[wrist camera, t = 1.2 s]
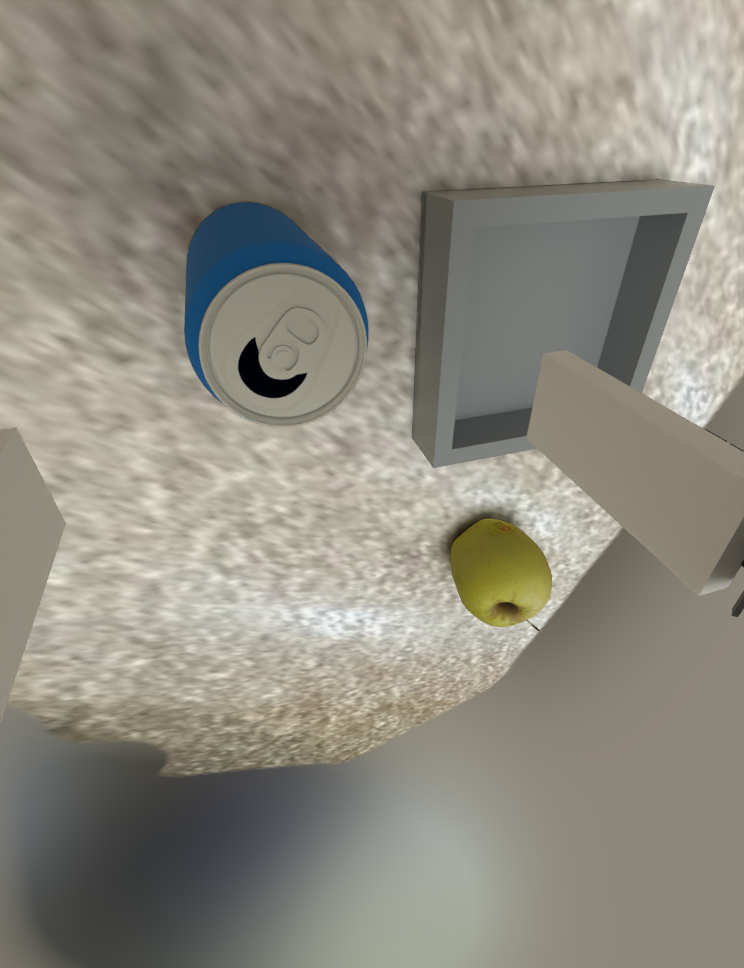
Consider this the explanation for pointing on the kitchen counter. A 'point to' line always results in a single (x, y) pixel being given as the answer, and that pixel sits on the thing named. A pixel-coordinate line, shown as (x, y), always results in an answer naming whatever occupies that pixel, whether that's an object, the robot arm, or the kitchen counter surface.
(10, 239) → the kitchen counter surface
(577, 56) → the kitchen counter surface
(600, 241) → the bin
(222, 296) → the beverage can
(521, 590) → the apple
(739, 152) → the kitchen counter surface
